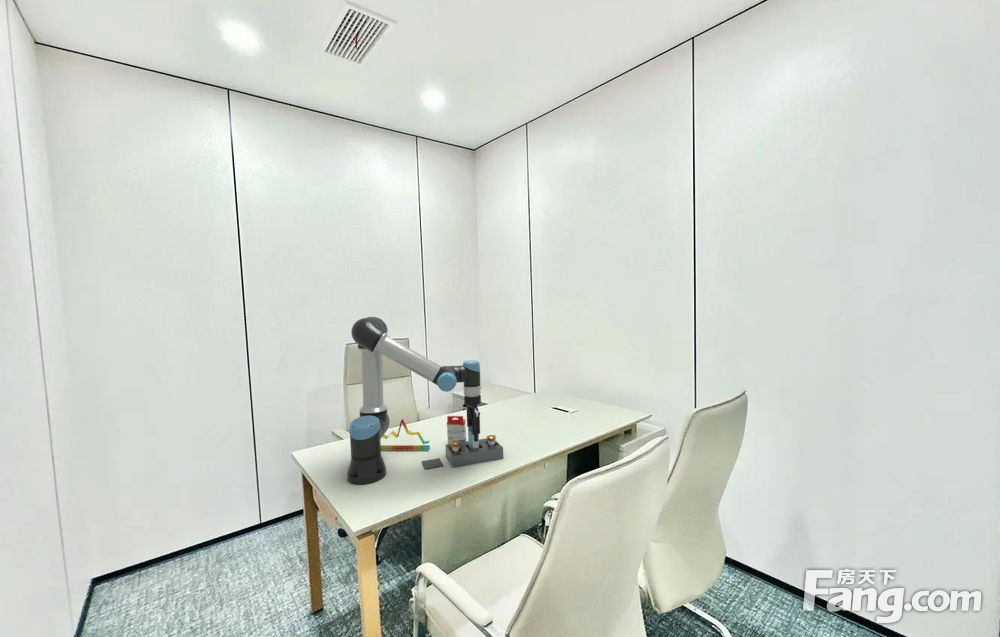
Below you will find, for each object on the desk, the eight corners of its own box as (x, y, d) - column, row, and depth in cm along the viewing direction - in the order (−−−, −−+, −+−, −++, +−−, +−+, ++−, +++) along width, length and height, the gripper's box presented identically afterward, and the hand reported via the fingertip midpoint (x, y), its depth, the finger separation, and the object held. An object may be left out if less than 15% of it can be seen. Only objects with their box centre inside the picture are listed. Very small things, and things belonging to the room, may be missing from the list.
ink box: (466, 442, 196) (465, 413, 195) (464, 445, 191) (463, 416, 190) (449, 441, 196) (448, 413, 196) (447, 445, 192) (446, 416, 191)
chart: (365, 451, 187) (364, 421, 186) (368, 449, 190) (367, 418, 189) (428, 451, 185) (427, 420, 184) (429, 449, 188) (428, 418, 187)
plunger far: (488, 455, 177) (488, 438, 177) (485, 451, 181) (485, 435, 181) (497, 453, 179) (497, 437, 178) (494, 450, 183) (494, 434, 182)
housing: (453, 467, 166) (452, 456, 166) (445, 455, 179) (445, 444, 179) (503, 458, 174) (503, 447, 174) (492, 447, 187) (492, 437, 187)
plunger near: (452, 461, 171) (451, 444, 171) (450, 457, 175) (449, 441, 175) (461, 459, 173) (461, 443, 172) (459, 456, 177) (458, 440, 176)
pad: (424, 469, 165) (424, 468, 165) (421, 462, 172) (421, 461, 172) (443, 466, 168) (443, 465, 168) (439, 459, 175) (439, 458, 175)
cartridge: (470, 459, 174) (469, 429, 173) (467, 456, 178) (466, 425, 177) (480, 458, 175) (480, 427, 175) (477, 454, 180) (476, 424, 179)
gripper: (486, 398, 168) (488, 451, 170) (474, 389, 185) (475, 437, 186) (470, 400, 166) (471, 454, 167) (459, 391, 182) (460, 440, 184)
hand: (473, 445), depth 177 cm, fingers closed on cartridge, 5 cm apart
